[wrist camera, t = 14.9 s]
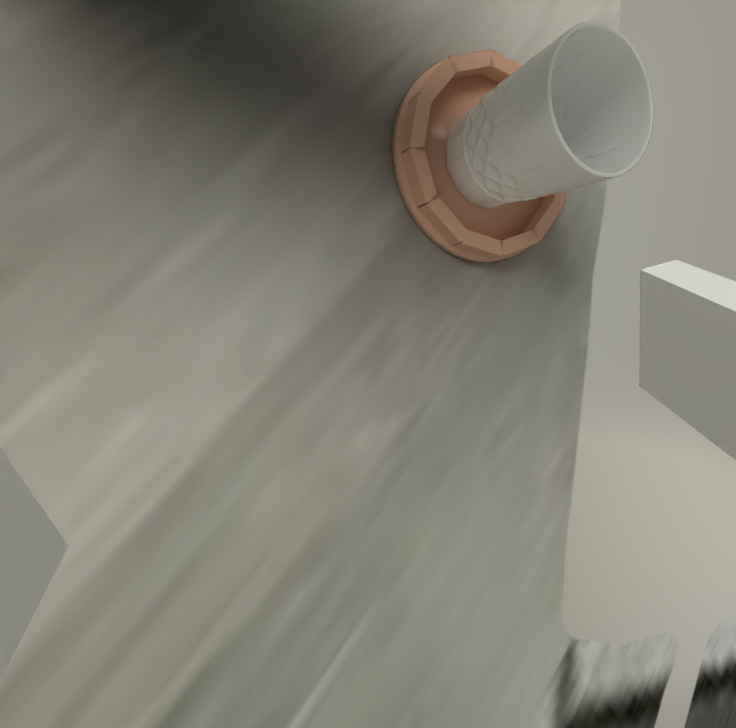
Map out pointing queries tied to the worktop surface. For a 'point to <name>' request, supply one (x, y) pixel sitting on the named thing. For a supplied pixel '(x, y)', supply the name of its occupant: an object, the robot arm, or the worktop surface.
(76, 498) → the worktop surface
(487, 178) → the white cup
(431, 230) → the saucer
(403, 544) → the worktop surface
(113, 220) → the worktop surface
